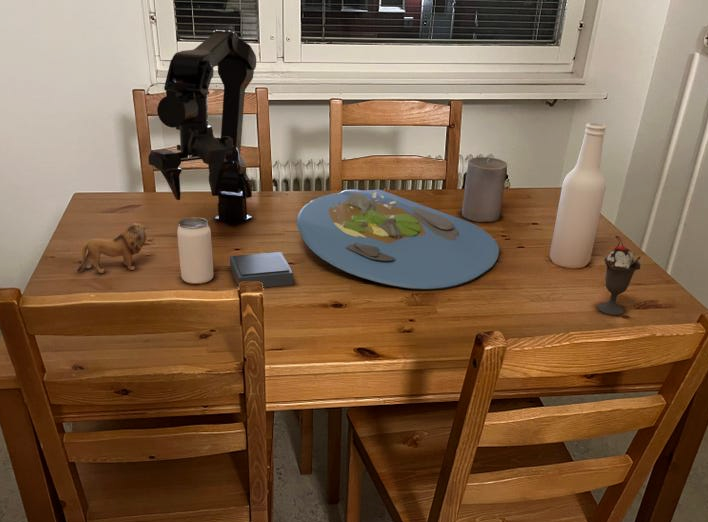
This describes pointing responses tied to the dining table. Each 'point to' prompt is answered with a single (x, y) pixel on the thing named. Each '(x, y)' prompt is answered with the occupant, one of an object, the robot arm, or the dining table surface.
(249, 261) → the riser
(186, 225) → the can
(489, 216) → the pillar candle
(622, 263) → the sundae
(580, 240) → the alcohol
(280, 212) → the dining table surface
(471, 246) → the serving platter
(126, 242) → the lion figurine
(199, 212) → the dining table surface
